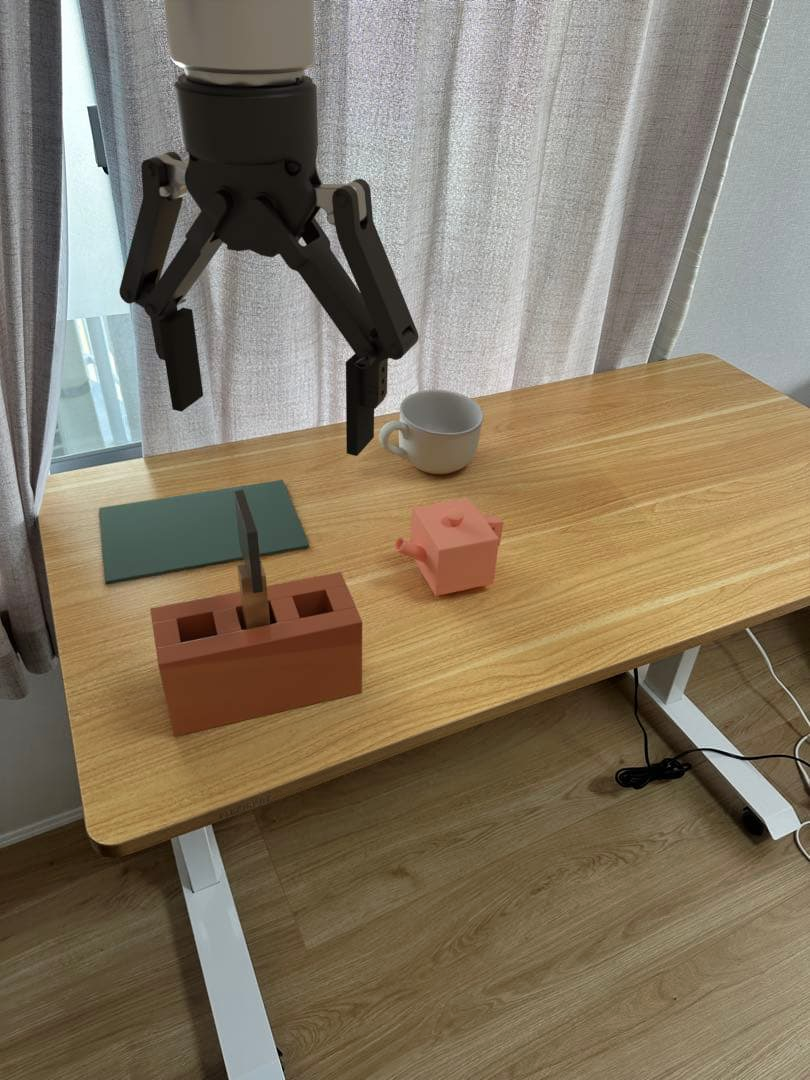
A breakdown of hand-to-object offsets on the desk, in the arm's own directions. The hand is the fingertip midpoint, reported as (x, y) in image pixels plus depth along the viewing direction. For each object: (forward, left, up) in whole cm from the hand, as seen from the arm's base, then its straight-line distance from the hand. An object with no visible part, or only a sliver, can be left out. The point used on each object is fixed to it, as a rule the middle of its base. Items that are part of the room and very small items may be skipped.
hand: (271, 423), depth 56 cm
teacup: (+26, +35, -29) cm, 52 cm away
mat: (-4, +29, -29) cm, 41 cm away
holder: (-2, +3, -29) cm, 29 cm away
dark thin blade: (-2, +3, -29) cm, 29 cm away
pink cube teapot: (+20, +13, -29) cm, 37 cm away
